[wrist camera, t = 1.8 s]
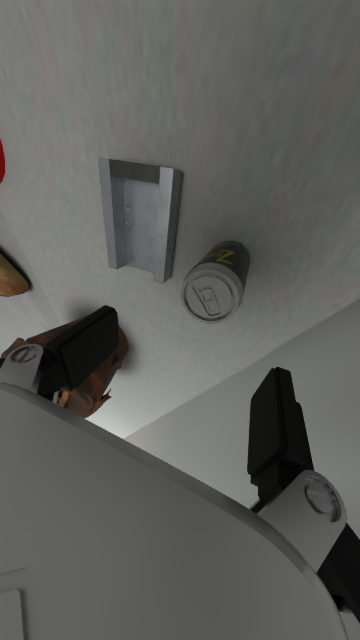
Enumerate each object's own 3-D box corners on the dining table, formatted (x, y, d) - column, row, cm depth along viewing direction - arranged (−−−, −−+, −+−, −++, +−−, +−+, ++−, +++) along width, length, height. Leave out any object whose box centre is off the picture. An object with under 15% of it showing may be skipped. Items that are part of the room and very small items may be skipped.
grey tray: (114, 161, 23) (97, 157, 21) (183, 172, 21) (173, 168, 19) (120, 261, 31) (108, 266, 28) (171, 276, 29) (163, 283, 26)
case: (111, 372, 52) (55, 436, 37) (62, 316, 46) (-26, 365, 32) (155, 361, 42) (102, 441, 28) (100, 288, 36) (-2, 341, 22)
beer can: (255, 273, 24) (250, 319, 15) (216, 284, 27) (192, 330, 17) (243, 232, 22) (229, 255, 13) (203, 249, 25) (168, 278, 15)
